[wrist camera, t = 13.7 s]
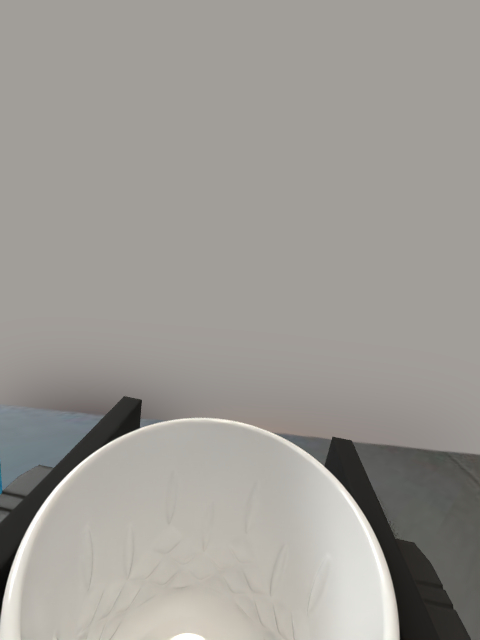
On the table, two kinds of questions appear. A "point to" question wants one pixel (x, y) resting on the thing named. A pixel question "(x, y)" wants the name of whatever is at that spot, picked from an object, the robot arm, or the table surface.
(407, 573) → the robot arm
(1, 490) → the mug
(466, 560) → the table surface
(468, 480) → the table surface
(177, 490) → the white cup
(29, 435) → the table surface
